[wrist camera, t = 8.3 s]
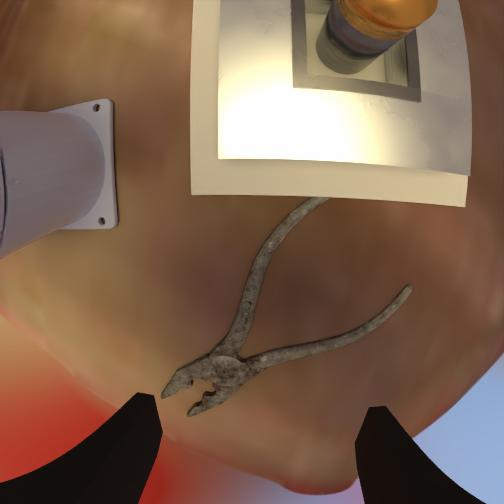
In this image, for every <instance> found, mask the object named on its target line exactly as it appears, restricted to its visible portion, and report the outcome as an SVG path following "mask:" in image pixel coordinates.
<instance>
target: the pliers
mask: <svg viewBox="0 0 504 504" xmlns="http://www.w3.org/2000/svg"><path fill="white" fill-rule="evenodd" d="M329 198H330V197H316V196H312V197H311V198H309V199H308V200H306V201H305V202H303V203H302V204H301V205H300V206H298V207H297V208H296V209H295V210H294V211H292V212H291V213H290V214H289V215H288V216H287V217H286V218H285V219H284V220H283V221H282V222H281V223H280V224H279V225H278V226H277V228H276V229H275V230H274V231H273V232H272V234H271V235H270V236H269V237H268V239H267V240H266V241H265V243H264V244H263V246H262V248H261V249H260V251H259V253H258V254H257V256H256V258H255V260H254V263H253V265H252V268H251V270H250V273H249V276H248V279H247V283H246V286H245V289H244V292H243V296H242V299H241V302H240V306H239V309H238V312H237V315H236V317H235V320H234V322H233V325H232V327H231V329H230V331H229V332H228V334H227V335H226V336H225V338H224V339H223V340H222V341H221V342H220V343H219V344H218V345H217V346H216V347H215V348H214V349H213V350H212V351H211V352H210V354H209V353H208V354H206V355H204V356H202V357H201V358H199V359H197V360H195V361H193V362H191V363H189V364H187V365H186V366H184V367H182V368H180V369H178V370H177V371H176V373H175V374H174V376H173V377H172V379H171V380H170V382H169V383H168V385H167V386H166V388H165V389H164V391H163V392H162V394H161V398H162V399H164V398H166V397H169V396H171V395H173V394H176V392H177V390H178V389H180V388H190V387H192V385H193V380H192V379H193V378H201V379H203V380H205V381H206V380H208V379H210V380H211V381H212V382H214V383H213V387H214V388H215V389H216V390H217V391H214V392H207V391H206V392H205V393H204V394H203V397H202V401H200V402H197V403H195V404H194V406H193V407H192V408H191V409H190V410H189V411H188V413H187V417H191V416H194V415H196V414H199V413H201V412H204V411H206V410H208V409H211V408H213V407H215V406H218V405H220V404H222V403H223V402H224V401H225V400H226V399H228V398H229V397H230V396H231V395H232V394H233V393H235V392H236V391H237V390H238V389H239V388H240V387H241V386H242V385H243V383H245V382H247V381H248V380H250V379H252V378H254V377H255V376H257V375H258V374H259V372H261V371H263V370H264V369H266V368H268V367H270V366H273V365H276V364H279V363H282V362H286V361H290V360H293V359H297V358H302V357H306V356H310V355H314V354H318V353H321V352H325V351H329V350H333V349H336V348H338V347H341V346H344V345H347V344H349V343H351V342H353V341H355V340H357V339H359V338H361V337H363V336H364V335H366V334H367V333H369V332H371V331H372V330H374V329H375V328H376V327H378V326H379V325H380V324H381V323H383V322H384V321H385V320H387V319H388V318H389V317H390V316H391V315H392V314H393V313H394V312H395V311H396V310H397V309H398V308H399V307H400V306H401V305H402V303H403V302H404V301H405V300H406V299H407V297H408V296H409V294H410V293H411V291H412V286H411V285H410V284H409V285H406V286H405V287H404V288H403V289H402V290H401V291H400V293H399V294H398V295H397V296H396V297H395V298H394V300H393V301H392V302H391V303H390V304H389V305H388V306H387V307H386V308H385V309H383V310H382V311H381V312H380V313H379V314H378V315H376V316H375V317H373V318H372V319H371V320H369V321H368V322H366V323H365V324H363V325H361V326H359V327H358V328H356V329H354V330H352V331H349V332H347V333H345V334H342V335H339V336H335V337H332V338H328V339H323V340H319V341H315V342H310V343H305V344H299V345H293V346H287V347H283V348H278V349H274V350H270V351H267V352H263V353H260V354H257V355H254V356H251V357H249V358H247V359H242V358H241V357H239V356H238V355H237V354H238V352H239V350H240V348H241V346H242V345H243V343H244V341H245V338H246V336H247V334H248V332H249V329H250V326H251V323H252V319H253V316H254V311H255V306H256V302H257V298H258V294H259V290H260V287H261V283H262V280H263V276H264V273H265V270H266V267H267V264H268V262H269V261H270V259H271V257H272V255H273V253H274V251H275V249H276V248H277V247H278V245H279V244H280V242H281V241H282V240H283V238H284V237H285V236H286V235H287V234H288V232H289V231H290V230H291V229H292V228H293V227H294V226H295V225H296V224H297V223H298V222H299V221H300V220H301V219H302V218H304V217H305V216H306V215H307V214H308V213H309V212H311V211H312V210H314V209H315V208H317V207H318V206H320V205H321V204H322V203H324V202H325V201H327V200H328V199H329Z"/></svg>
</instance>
